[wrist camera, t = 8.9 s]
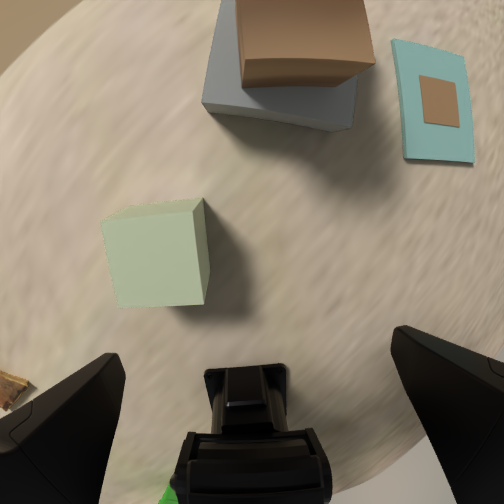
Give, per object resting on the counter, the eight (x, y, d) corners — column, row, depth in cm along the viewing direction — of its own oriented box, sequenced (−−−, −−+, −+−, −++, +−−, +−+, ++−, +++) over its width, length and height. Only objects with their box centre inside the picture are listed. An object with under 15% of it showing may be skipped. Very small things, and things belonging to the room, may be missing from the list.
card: (470, 162, 19) (475, 162, 19) (403, 157, 19) (407, 158, 18) (460, 57, 16) (464, 56, 16) (390, 40, 16) (394, 38, 16)
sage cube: (210, 270, 21) (203, 304, 16) (141, 275, 21) (118, 307, 16) (203, 197, 19) (192, 211, 15) (130, 205, 19) (100, 221, 15)
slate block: (330, 132, 19) (351, 127, 15) (208, 112, 18) (201, 102, 14) (342, 29, 16) (363, 8, 13) (227, 8, 16) (226, -20, 12)
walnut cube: (335, 87, 14) (375, 63, 9) (241, 88, 14) (245, 59, 9) (324, 9, 13) (354, -32, 8) (235, 8, 12) (236, -40, 8)
